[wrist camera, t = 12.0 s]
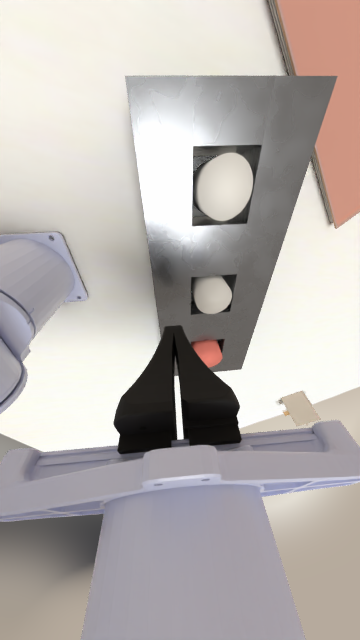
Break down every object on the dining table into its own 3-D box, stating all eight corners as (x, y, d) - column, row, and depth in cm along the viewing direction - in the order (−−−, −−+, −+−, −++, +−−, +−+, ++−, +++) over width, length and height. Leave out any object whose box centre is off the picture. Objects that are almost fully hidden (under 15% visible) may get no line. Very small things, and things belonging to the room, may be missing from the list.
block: (165, 352, 30) (166, 376, 27) (135, 108, 13) (125, 76, 9) (231, 346, 31) (241, 369, 27) (286, 106, 14) (337, 76, 10)
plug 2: (189, 292, 23) (195, 315, 19) (189, 264, 20) (196, 283, 16) (217, 290, 23) (228, 312, 19) (220, 262, 20) (234, 281, 17)
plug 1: (189, 213, 17) (198, 221, 13) (189, 161, 15) (200, 153, 11) (226, 211, 17) (246, 219, 13) (233, 160, 15) (259, 151, 11)
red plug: (189, 343, 28) (194, 368, 24) (189, 325, 25) (194, 351, 21) (212, 341, 28) (220, 366, 24) (214, 323, 26) (224, 348, 22)
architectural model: (302, 393, 47) (322, 422, 42) (277, 402, 49) (293, 431, 43) (301, 388, 45) (321, 418, 40) (275, 397, 47) (291, 427, 42)
